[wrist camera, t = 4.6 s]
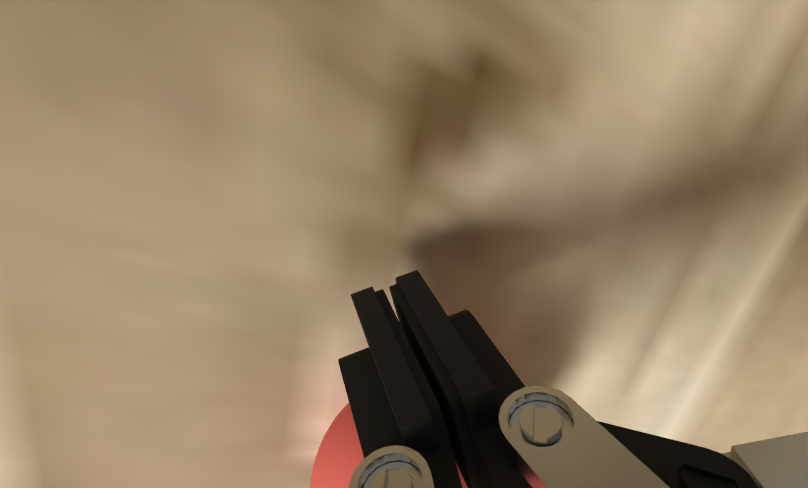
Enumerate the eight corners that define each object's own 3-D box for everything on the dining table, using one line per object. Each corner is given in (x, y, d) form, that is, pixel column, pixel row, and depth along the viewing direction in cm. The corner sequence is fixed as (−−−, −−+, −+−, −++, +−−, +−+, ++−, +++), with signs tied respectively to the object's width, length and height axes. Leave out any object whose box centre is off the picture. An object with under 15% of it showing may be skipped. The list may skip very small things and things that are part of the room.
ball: (269, 374, 13) (293, 617, 8) (464, 303, 14) (595, 476, 9) (326, 493, 16) (369, 721, 11) (482, 427, 17) (586, 607, 12)
